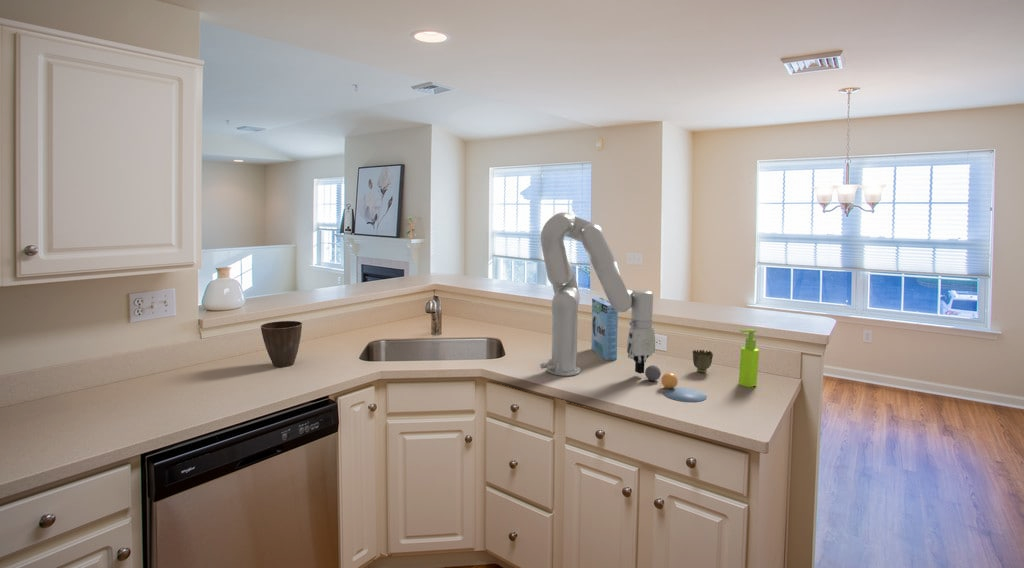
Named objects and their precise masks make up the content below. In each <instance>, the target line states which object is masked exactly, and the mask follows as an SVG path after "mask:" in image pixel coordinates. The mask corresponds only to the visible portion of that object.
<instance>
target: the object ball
mask: <svg viewBox="0 0 1024 568" xmlns="http://www.w3.org/2000/svg"><path fill="white" fill-rule="evenodd" d="M660 381H661V385H662V386H663V387H664V388H665V389H672V388H677V385H678V383H679V381H678V376H677V375H676V374H674V373H673V372H667V373H664V374H663V375H662V377H661V379H660Z"/></svg>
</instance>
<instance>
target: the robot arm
mask: <svg viewBox="0 0 1024 568" xmlns="http://www.w3.org/2000/svg"><path fill="white" fill-rule="evenodd" d="M565 237H568V238H570V239H573V240H575V241H578V242H579V243H581V244H582V246H583V249H584V250H585V252H586V254H587V257H588V258H589V261H590V263H591V265H592V268H593V270H594V272H595V274H596V277H597V279H598V280H599V282H600V285H601V287H602V289H603V291H604V294H605V296H606V298H607V301H609V302H610V304H611V306H612V308H613V309H614V310H615V311H617V312H618V313H625V312H627V311H629V310H631V315H630V317H631V318H630V322H629V323H628V324H629V326H630V327H629V330H628V333H627V334H628V335H627V343H626V352H627V354H628V355H627V358H628V359H631V360H633V361H634V362H635V363H634V364H635V365H634V371H635V373H637V374H640V375H641V374H645V363H646V362H647V359H648V358H650V357H652V356H653V354H655V353H656V334H655V328H654V327H653V312H654V309H653V308H654V293H653V292H652V291H651V290H646V289H637V290H633V289H628V288H627V287H626V285H625V283H624V280H623V278H622V276H621V274H620V273H621V272H620V269H619V266H618V262H617V259H616V258H615V255H614V253H613V251H612V249H611V247H610V245H609V243H608V241H607V238H606V236H605V234H604V230H603V228H602V227H601V226H600V225H599V224H597V223H594V222H592V221H589V220H586V219H583V218H582V217H579V216H576V215H575V214H571V213H569V212H558V213H556V214H554V215H552V216H551V217H550V218H549V219H548V220H547V221H546V222H545V223H544V225H543V226H542V230H541V233H540V244H541V245H540V246H541V252H542V256H543V261H544V265H545V270H546V271H545V272H546V276H547V279H548V281H549V283H550V284H551V286H552V290H553V292H554V294H553V297H552V301H551V333H552V334H551V358H550V359H549V360H548V362H543V363H540V365H539V367H540V369H541V370H543V369H547V372H548V373H549V374H552V375H555V376H561V377H572V376H575V375H579V374H580V373H581V368H580V366H577V362H578V361H577V359H578V355H577V354H578V353H577V352H578V322H579V321H578V316H579V315H578V313H579V311H578V309H579V303H580V299H581V298H580V291H579V287H578V282H577V278H576V277H577V276H576V274H575V270H574V266H573V265H572V263H571V262H570V261H569V259H568V257H567V251H566V247H565V242H564V240H565Z"/></svg>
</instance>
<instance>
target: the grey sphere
mask: <svg viewBox="0 0 1024 568" xmlns="http://www.w3.org/2000/svg"><path fill="white" fill-rule="evenodd" d="M661 373H662V372H661V369H660V368H659V367H658V366H657V365H653V364H652V365H649V366H647V367H646V369H645V370H644V375H645V378H646V379H648V380H649V381H650V382H651V381H652V382H654V381H657V380H658V379H660V377H661V375H662V374H661Z"/></svg>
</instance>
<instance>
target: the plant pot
mask: <svg viewBox="0 0 1024 568" xmlns="http://www.w3.org/2000/svg"><path fill="white" fill-rule="evenodd" d="M302 326H303V322H301V321H298V320H297V321H296V320H281V321H280V320H279V321H272V322H267V323H264V324H261V325H260V329H261V330H260V331H261V335H262V340H263V343H264V347H265V349H266V351H267V354H268V356H269V360H270V361H271V363H272V365H273V367H276V368H284V367H290V366H293V365H294V364H295V361H296V359H297V354H298V352H299V347H300V343H301V337H302Z"/></svg>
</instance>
